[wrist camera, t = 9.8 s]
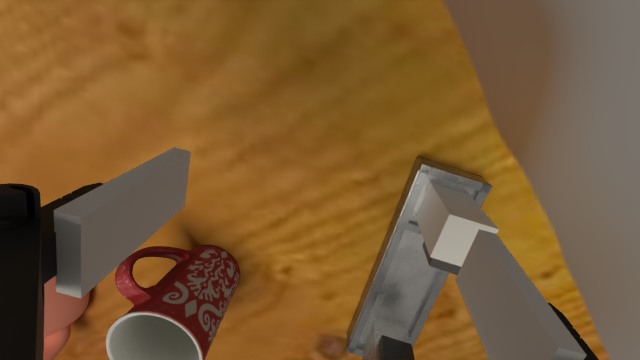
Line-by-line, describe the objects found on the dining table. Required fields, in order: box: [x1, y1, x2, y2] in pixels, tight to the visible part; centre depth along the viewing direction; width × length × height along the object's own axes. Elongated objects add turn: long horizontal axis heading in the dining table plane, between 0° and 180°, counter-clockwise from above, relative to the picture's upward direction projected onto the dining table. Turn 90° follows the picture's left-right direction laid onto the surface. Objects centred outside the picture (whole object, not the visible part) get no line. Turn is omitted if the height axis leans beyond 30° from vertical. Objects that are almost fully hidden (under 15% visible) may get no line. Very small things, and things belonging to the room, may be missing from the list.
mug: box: [106, 246, 240, 360], centre depth 37 cm, size 13×9×14 cm
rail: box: [346, 156, 492, 360], centre depth 36 cm, size 24×7×10 cm, turn 163°
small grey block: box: [416, 182, 499, 275], centre depth 32 cm, size 5×4×8 cm
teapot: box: [43, 276, 90, 360], centre depth 43 cm, size 12×18×10 cm
